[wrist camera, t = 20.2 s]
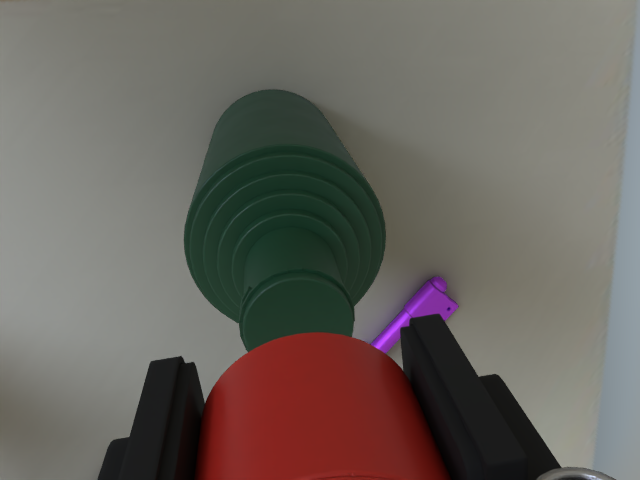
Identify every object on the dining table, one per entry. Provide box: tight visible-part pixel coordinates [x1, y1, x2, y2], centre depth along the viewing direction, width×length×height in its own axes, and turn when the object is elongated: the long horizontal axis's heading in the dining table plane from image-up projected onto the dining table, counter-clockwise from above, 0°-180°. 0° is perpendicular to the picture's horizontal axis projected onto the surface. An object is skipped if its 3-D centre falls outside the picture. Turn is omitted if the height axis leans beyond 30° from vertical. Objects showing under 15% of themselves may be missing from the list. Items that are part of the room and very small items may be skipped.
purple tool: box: [370, 277, 459, 354], centre depth 37 cm, size 3×1×16 cm
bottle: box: [184, 90, 386, 352], centre depth 23 cm, size 6×6×18 cm
